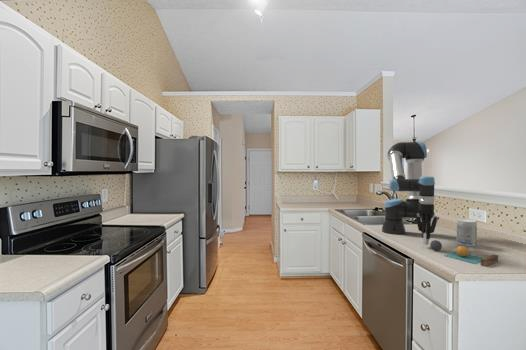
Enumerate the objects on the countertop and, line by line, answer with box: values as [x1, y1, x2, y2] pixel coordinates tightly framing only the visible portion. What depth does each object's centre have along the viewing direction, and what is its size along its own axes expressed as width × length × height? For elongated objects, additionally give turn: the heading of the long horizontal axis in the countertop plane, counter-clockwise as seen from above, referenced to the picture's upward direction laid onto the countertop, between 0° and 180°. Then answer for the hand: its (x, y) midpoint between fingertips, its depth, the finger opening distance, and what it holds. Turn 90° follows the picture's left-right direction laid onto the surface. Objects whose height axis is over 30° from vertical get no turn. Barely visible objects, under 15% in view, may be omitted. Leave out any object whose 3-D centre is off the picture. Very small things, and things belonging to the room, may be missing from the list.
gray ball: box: [429, 239, 443, 251], centre depth 150 cm, size 6×6×6 cm
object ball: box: [455, 245, 470, 257], centre depth 139 cm, size 6×6×6 cm
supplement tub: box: [456, 218, 478, 248], centre depth 160 cm, size 10×10×15 cm
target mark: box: [443, 251, 485, 265], centre depth 138 cm, size 14×14×1 cm
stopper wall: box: [480, 254, 499, 267], centre depth 129 cm, size 2×13×3 cm, turn 120°
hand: (425, 244), depth 156 cm, fingers closed
